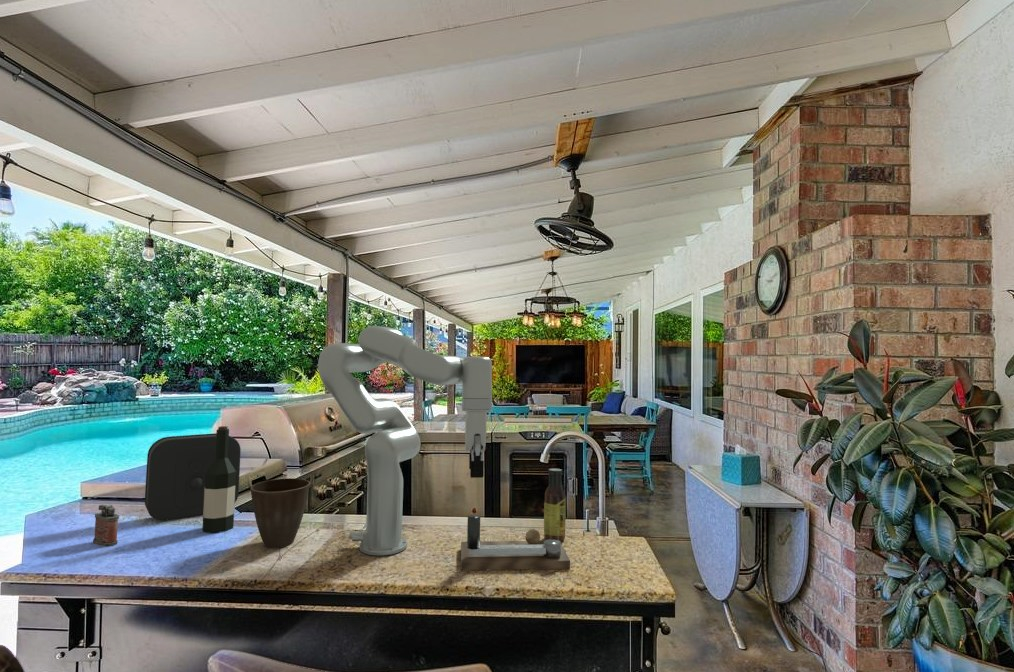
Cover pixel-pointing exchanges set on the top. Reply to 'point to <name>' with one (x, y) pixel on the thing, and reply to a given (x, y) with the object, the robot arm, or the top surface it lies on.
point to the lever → (473, 544)
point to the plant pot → (279, 509)
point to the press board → (513, 557)
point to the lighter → (106, 526)
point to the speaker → (182, 474)
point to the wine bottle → (219, 488)
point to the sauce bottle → (554, 507)
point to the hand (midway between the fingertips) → (476, 473)
